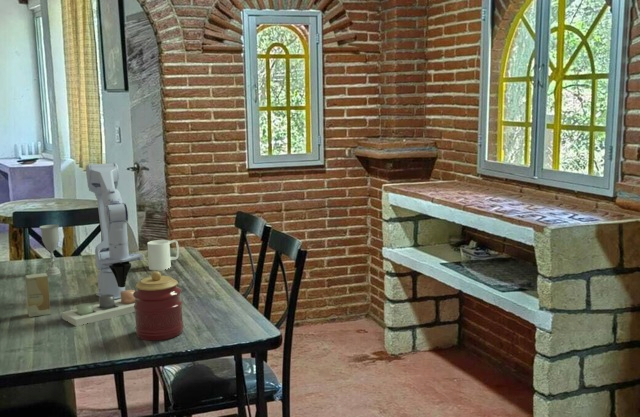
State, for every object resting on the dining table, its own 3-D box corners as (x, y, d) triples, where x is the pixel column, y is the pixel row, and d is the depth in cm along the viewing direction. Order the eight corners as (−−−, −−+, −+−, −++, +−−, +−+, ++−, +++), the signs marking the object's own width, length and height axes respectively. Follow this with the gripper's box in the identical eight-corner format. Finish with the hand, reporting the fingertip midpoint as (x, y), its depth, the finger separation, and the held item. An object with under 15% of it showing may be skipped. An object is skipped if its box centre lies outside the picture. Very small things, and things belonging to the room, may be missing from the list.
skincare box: (29, 317, 214) (25, 278, 212) (27, 313, 218) (23, 275, 216) (51, 314, 217) (48, 275, 215) (49, 310, 221) (46, 272, 219)
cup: (183, 267, 271) (181, 241, 270) (151, 271, 266) (150, 245, 264) (177, 263, 279) (176, 238, 277) (146, 267, 273) (145, 241, 272)
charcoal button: (97, 306, 216) (96, 296, 215) (110, 303, 219) (110, 293, 218) (103, 309, 213) (102, 299, 212) (117, 306, 215) (116, 296, 215)
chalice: (67, 272, 268) (63, 225, 265) (52, 276, 262) (47, 228, 259) (55, 270, 272) (50, 224, 269) (39, 274, 266) (35, 227, 263)
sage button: (75, 315, 211) (74, 305, 211) (89, 312, 214) (88, 302, 214) (81, 319, 208) (80, 308, 208) (95, 315, 211) (94, 305, 211)
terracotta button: (118, 301, 220) (117, 291, 220) (131, 298, 223) (130, 289, 223) (125, 304, 217) (124, 294, 217) (138, 301, 220) (137, 291, 220)
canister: (140, 344, 188) (135, 279, 185) (132, 330, 200) (128, 269, 197) (188, 336, 193) (185, 273, 191) (178, 323, 205) (174, 263, 202)
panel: (62, 318, 212) (61, 312, 211) (135, 301, 228) (135, 295, 227) (76, 326, 204) (75, 319, 204) (151, 308, 220) (150, 301, 220)
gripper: (101, 249, 208) (104, 293, 211) (146, 241, 218) (149, 284, 220) (91, 245, 214) (94, 289, 216) (135, 238, 223) (138, 280, 225)
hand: (121, 286), depth 218 cm, fingers closed
